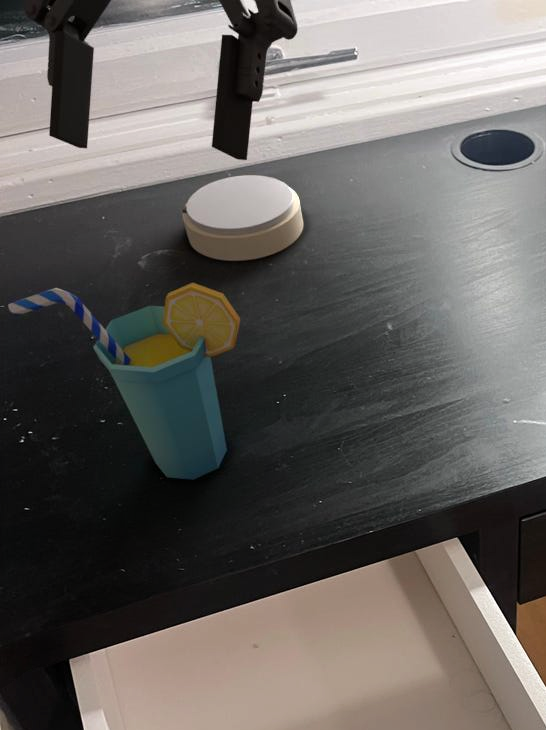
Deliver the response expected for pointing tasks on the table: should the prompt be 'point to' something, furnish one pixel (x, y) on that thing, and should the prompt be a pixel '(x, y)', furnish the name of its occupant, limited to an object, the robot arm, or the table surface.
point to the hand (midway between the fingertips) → (146, 148)
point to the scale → (243, 218)
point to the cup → (165, 370)
